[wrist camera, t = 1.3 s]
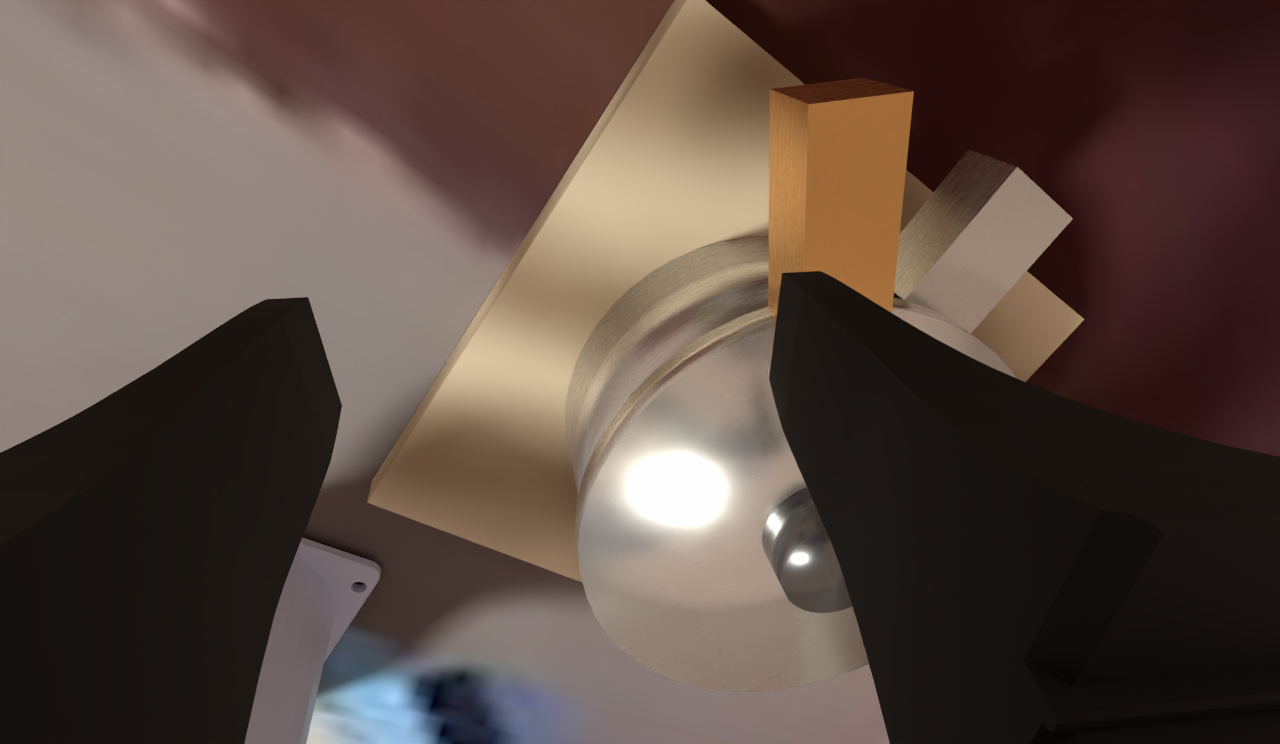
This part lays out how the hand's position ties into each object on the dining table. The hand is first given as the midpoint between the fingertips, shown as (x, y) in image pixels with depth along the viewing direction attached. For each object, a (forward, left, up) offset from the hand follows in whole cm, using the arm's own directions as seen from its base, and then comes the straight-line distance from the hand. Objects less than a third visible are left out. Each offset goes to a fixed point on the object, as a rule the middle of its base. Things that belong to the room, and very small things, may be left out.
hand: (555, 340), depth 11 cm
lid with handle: (-1, -9, -4) cm, 10 cm away
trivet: (-3, -10, -11) cm, 15 cm away
